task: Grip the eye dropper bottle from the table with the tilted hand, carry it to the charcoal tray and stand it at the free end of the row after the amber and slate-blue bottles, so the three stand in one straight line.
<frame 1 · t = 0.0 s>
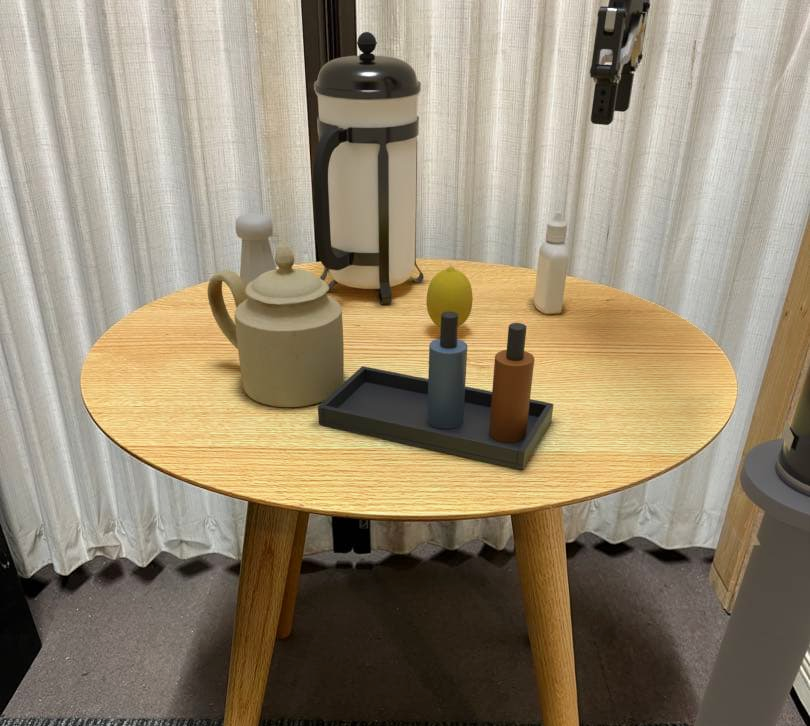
hand: (609, 117, 89), 24 cm above the table, tool pointing down, fingers open, 8 cm apart
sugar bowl: (276, 385, 90), on the table
amber bottle: (507, 433, 80), resting on tray
eye dropper bottle: (547, 308, 108), on the table
coffee press: (369, 291, 113), on the table
slate-blue bottle: (445, 420, 82), resting on tray
lemon: (448, 333, 102), on the table
tray: (435, 422, 83), on the table
salt shaker: (263, 324, 103), on the table
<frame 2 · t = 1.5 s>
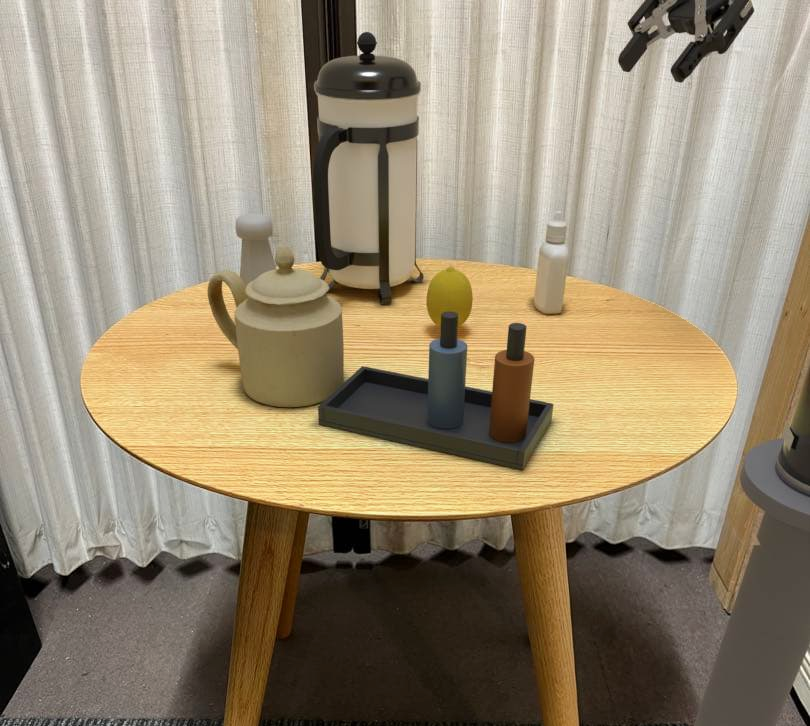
hand: (648, 71, 97), 26 cm above the table, tool tilted 45°, fingers open, 8 cm apart
nothing on the table moved.
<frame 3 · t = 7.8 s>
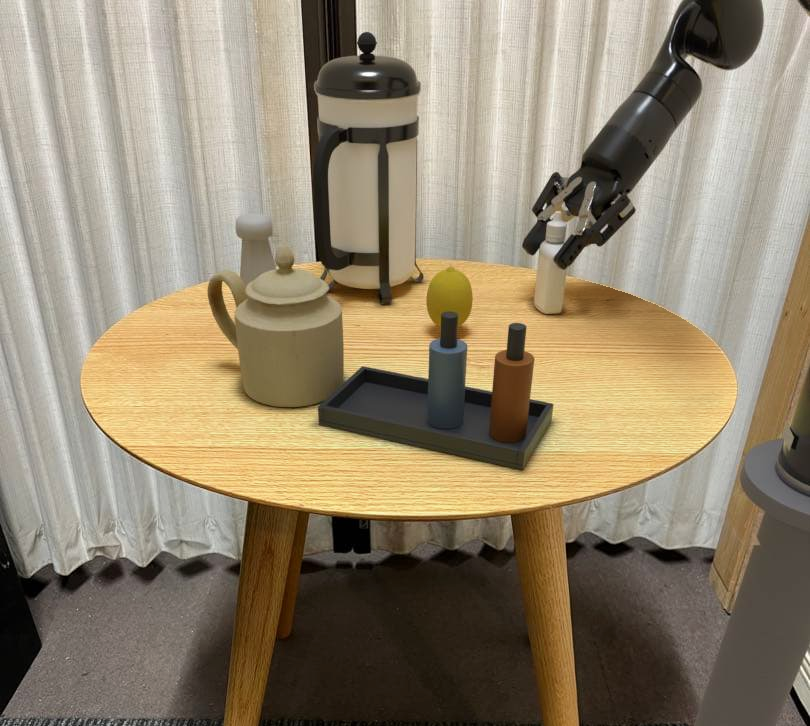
hand: (542, 257, 103), 7 cm above the table, tool tilted 45°, fingers closed on eye dropper bottle, 5 cm apart
eye dropper bottle: (547, 308, 108), on the table, touching gripper
everything else where it was.
when the fingers open (7 cm above the table, at t = 21.2 s): eye dropper bottle stays where it is, resting on tray.
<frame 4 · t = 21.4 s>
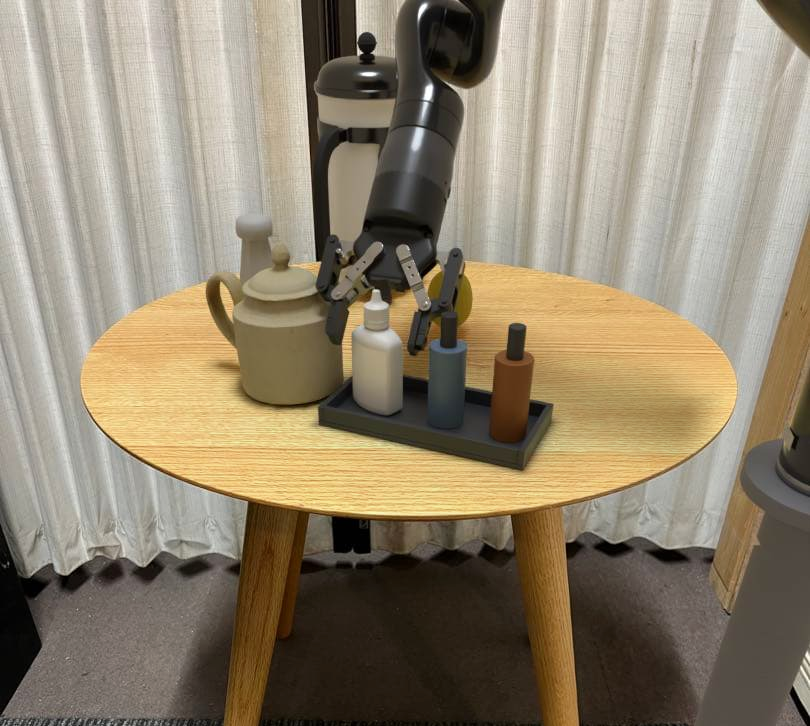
hand: (372, 347, 79), 8 cm above the table, tool tilted 45°, fingers open, 7 cm apart
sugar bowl: (276, 384, 90), on the table, touching gripper
eye dropper bottle: (377, 406, 85), resting on tray
everything else where it was.
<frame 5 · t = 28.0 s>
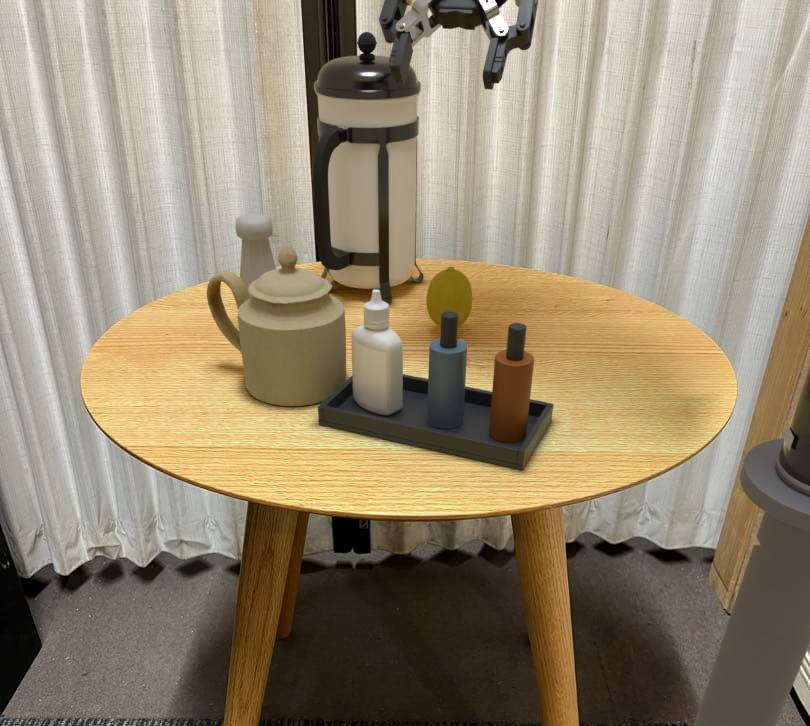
hand: (442, 80, 76), 29 cm above the table, tool tilted 45°, fingers open, 8 cm apart
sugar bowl: (279, 385, 90), on the table
everything else where it was.
at the end: eye dropper bottle 0.1 cm from the target spot in the tray, point 0.3 cm above the tray's base; eye dropper bottle tilted 0°; the gripper is holding nothing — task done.
